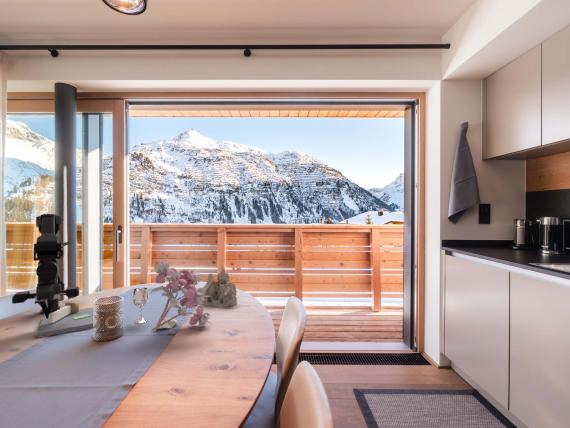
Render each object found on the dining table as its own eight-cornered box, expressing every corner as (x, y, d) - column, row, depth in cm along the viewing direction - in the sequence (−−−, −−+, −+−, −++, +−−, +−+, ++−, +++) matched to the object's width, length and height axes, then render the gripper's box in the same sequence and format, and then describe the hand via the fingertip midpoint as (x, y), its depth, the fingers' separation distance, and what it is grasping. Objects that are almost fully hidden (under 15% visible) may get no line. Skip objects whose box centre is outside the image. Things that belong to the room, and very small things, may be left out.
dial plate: (44, 318, 121) (44, 313, 121) (92, 311, 129) (92, 306, 129) (36, 337, 102) (36, 332, 102) (94, 327, 111) (93, 322, 111)
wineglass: (142, 324, 114) (142, 291, 114) (128, 323, 115) (128, 290, 115) (152, 318, 119) (152, 287, 119) (139, 317, 120) (138, 286, 120)
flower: (165, 344, 93) (197, 265, 100) (123, 322, 104) (155, 254, 112) (208, 349, 108) (233, 281, 116) (167, 330, 120) (193, 269, 128)
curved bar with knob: (69, 310, 125) (69, 300, 125) (81, 310, 125) (81, 300, 125) (44, 324, 110) (43, 313, 110) (57, 323, 110) (57, 312, 110)
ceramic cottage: (199, 299, 145) (200, 267, 144) (234, 297, 150) (235, 266, 150) (200, 311, 131) (201, 276, 130) (239, 308, 136) (241, 274, 135)
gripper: (8, 281, 100) (8, 330, 100) (78, 275, 110) (78, 320, 109) (15, 276, 109) (15, 320, 109) (79, 271, 119) (79, 312, 119)
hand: (47, 318), depth 111 cm, fingers closed
